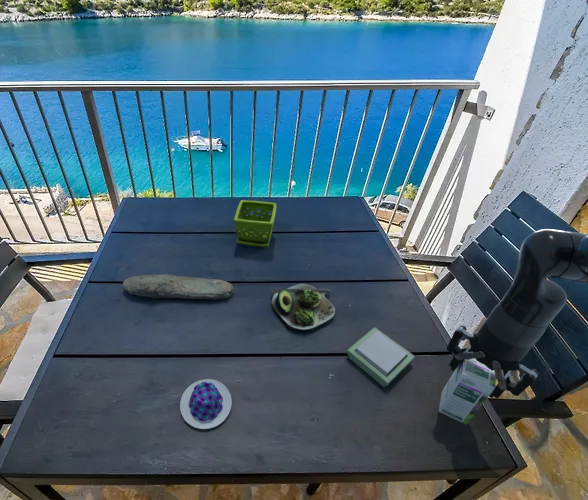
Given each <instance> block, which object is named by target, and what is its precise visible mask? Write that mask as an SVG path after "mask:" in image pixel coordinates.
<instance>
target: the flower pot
mask: <svg viewBox="0 0 588 500" xmlns="http://www.w3.org/2000/svg"><path fill="white" fill-rule="evenodd" d="M251 212H254V213H253V214H252V213H251ZM270 212H271V213H270ZM276 214H277V203H275V202H271V201H260V200H246V199H242V200H240V201H239V203H238V206H237V208H236V212H235V215H234V218H233V225H234V229H235V233H236V235H237V238H236V243H237V244H239V245H241V246H247V247H255V248H262V249H265V248H268V247H269V245H270V241H271V237H272V233H273V228H274V224H275V220H276Z"/></svg>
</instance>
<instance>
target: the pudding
mask: <svg viewBox="0 0 588 500" xmlns="http://www.w3.org/2000/svg"><path fill="white" fill-rule="evenodd" d="M232 401H233V400H232V395H231V392H230V390H229V389H228V387H227V386H225V385H224V384H223V383H222V382H220V381H218V380H216V379H211V378H205V379H204V378H203V379H200V380H197V381H194V382H193V383H191V384H190V385H189V386H187V388H186V389H185V390H184V392H183V393H182V396H181V397H180V402H179V411H180V414H181V416H182V418H183V420H184V421H185V422H186V423H187V424H188V425H190V426H191V427H193V428H196V429H199V430H207V429H208V430H209V429H213V428H216V427H218V426H219V425H220V424H222V423H223V422H225V420H226V419H227V418H228V416H229V414H230V413H231V409H232V404H233V402H232Z"/></svg>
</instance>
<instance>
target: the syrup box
mask: <svg viewBox="0 0 588 500" xmlns="http://www.w3.org/2000/svg"><path fill="white" fill-rule="evenodd" d="M496 381H497V379H496V377H495V372H494V370H493V371H492V370H490V369H489V368H488V367H487V366H485V365H484V364H482V363H480V362H478V361H477V360H476V358H474V359H469V360H467V359H463V360H462V362H461V363H460V365H459V366H458V367H457V368H456V370H455V371H453V372H452V374H451V376H450V378H449V379H448V380H447V382H446V384H445V386H444V388H443V389H442V391H441V394H440V400H439V406H438V412H439V413H440V414H443V415H445V416H447V417H449V418H451V419H454V420H455V421H458V422H460V423H461V424H464V425H466V426H467V425H468V424H469V423H470V422H471V420H472V419H473V417H475V415H476V414H477V412H478V411H479V410H480V408H481V407H482V406H483V405H484V403H485V402H486V401H487V399H488V398H490V397H489V395H490V394H491V393H492V391H493V390H494V389H495V386H496Z"/></svg>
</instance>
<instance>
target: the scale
mask: <svg viewBox="0 0 588 500" xmlns="http://www.w3.org/2000/svg"><path fill="white" fill-rule="evenodd" d="M376 331H378V332H380V333H381V334H382V335H384V336H385V337H387V338H388V339H389V340H391V341H392V342H393V343H395V344H396V345H397V346H399V347H400V348H402V349H403V350H404V351H406V352H407V353H408V354H407V356H406V357H405V358H404V359H403V360H402V361H401V362H400V363H399V364H398V365H397V366H396V367H395V368H394V369H393V370H392V371H391V372H390V373H389V374H388V375H387V376H385V375H384V374H382V373H381V372H380V371H379V370H377V369H376V368H375V367H374V366H373V365H371V364H370V363H369V362H368V361H366V360H365V359H364V358H363V357H361V356H360V355H359V354H358V353H356V352H355V351H356V348H357V347H359V346H360V345H361V344H362V343H363V342H364V341H366V340H367V339H368V338H369V337H370V336H372V335H373V334H374V333H375V332H376ZM346 354H347V358H348V359H349V360H351V361H352V362H353V363H354V364H356V365H357V367H359V368H361V370H362V371H364V372H365V373H366V374H368V375H369V376H370V377H371V378H372V379H373V380H375V381H376V382H377V383H379V385H381V386H382V387H383V388H385V387H388V386H389V385H390V384H391V383H392V382H393V381H394V380H395V379H396V378H397V377H398V376H399V375H400V374H401V373H402V372H403V371H404V370H405V369H406V368H407V367H408V366H409V365H410V364H411V363H412V362H413V361H414V359H415V358H416V355H414V354H412V352H410V351H408V350H407V349H406V348H404V347H402V346H401V345H400V344H399V343H397V342H396V341H394V340H393V339H392V338H390V337H389V336H388V335H386V334H385V333H383V332H382V331H381V330H380V329H378V328H377V327H375V326H374V327H373V328H372V329H371V330H369V331H368V332H367V333H366V334H365V335H363V336H362V337H361V338H360V339H359V340H357V341H356V342H355V343H354V344H353V345H352V346H350V347H349V348H348V349H347V351H346Z"/></svg>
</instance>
